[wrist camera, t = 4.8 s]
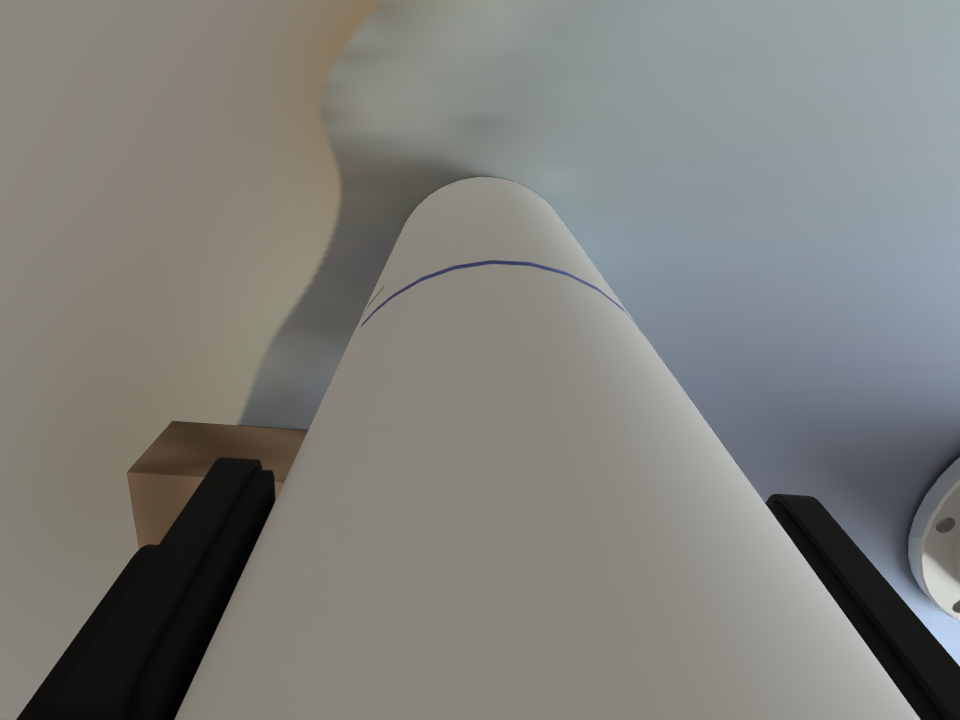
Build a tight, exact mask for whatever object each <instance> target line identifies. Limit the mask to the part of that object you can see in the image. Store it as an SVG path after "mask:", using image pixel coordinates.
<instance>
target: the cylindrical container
mask: <svg viewBox="0 0 960 720" xmlns="http://www.w3.org/2000/svg"><path fill="white" fill-rule="evenodd" d="M175 720H920V718H919V717H918V716H917V714H916V713H915V711H914V710H913V709H912V707H911V706H910V705H909V703H908V702H907V700H906V699H905V698H904V696H903V695H902V693H901V692H900V691H899V689H898V688H897V686H896V685H895V684H894V682H893V681H892V679H891V678H890V677H889V675H888V674H887V672H886V671H885V670H884V668H883V667H882V666H881V664H880V663H879V661H878V660H877V659H876V657H875V656H874V654H873V653H872V652H871V650H870V649H869V647H868V646H867V645H866V643H865V642H864V640H863V639H862V638H861V636H860V635H859V634H858V632H857V631H856V629H855V628H854V627H853V625H852V624H851V622H850V621H849V620H848V618H847V617H846V615H845V614H844V613H843V611H842V610H841V608H840V607H839V606H838V604H837V603H836V602H835V600H834V599H833V597H832V596H831V595H830V593H829V592H828V590H827V589H826V588H825V586H824V585H823V583H822V582H821V581H820V579H819V578H818V576H817V575H816V574H815V572H814V571H813V569H812V568H811V567H810V565H809V564H808V563H807V561H806V560H805V558H804V557H803V556H802V554H801V553H800V551H799V550H798V549H797V547H796V546H795V544H794V543H793V542H792V540H791V539H790V537H789V536H788V535H787V533H786V532H785V531H784V529H783V528H782V526H781V525H780V524H779V522H778V521H777V519H776V518H775V517H774V515H773V514H772V512H771V511H770V510H769V508H768V507H767V505H766V504H765V503H764V501H763V500H762V499H761V497H760V496H759V494H758V493H757V492H756V490H755V489H754V487H753V486H752V485H751V483H750V482H749V480H748V479H747V478H746V476H745V475H744V473H743V472H742V471H741V469H740V468H739V467H738V465H737V464H736V462H735V461H734V460H733V458H732V457H731V455H730V454H729V453H728V451H727V450H726V448H725V447H724V446H723V444H722V443H721V441H720V440H719V439H718V437H717V436H716V434H715V433H714V432H713V430H712V429H711V428H710V426H709V425H708V423H707V422H706V421H705V419H704V418H703V416H702V415H701V414H700V412H699V411H698V409H697V408H696V407H695V405H694V404H693V402H692V401H691V400H690V398H689V397H688V396H687V394H686V393H685V391H684V390H683V389H682V387H681V386H680V384H679V383H678V382H677V380H676V379H675V377H674V376H673V375H672V373H671V372H670V370H669V369H668V368H667V366H666V365H665V364H664V362H663V361H662V359H661V358H660V357H659V355H658V354H657V352H656V351H655V350H654V348H653V347H652V345H651V344H650V343H649V341H648V340H647V338H646V337H645V336H644V334H643V333H642V332H641V330H640V329H639V327H638V326H637V325H636V323H635V322H634V320H633V319H632V318H631V316H630V315H629V313H628V312H627V311H626V309H625V308H624V306H623V305H622V304H621V302H620V301H619V299H618V298H617V297H616V295H615V294H614V293H613V291H612V290H611V288H610V287H609V286H608V284H607V283H606V281H605V280H604V279H603V277H602V276H601V274H600V273H599V272H598V270H597V269H596V267H595V266H594V265H593V263H592V262H591V261H590V259H589V258H588V256H587V255H586V254H585V252H584V251H583V249H582V248H581V247H580V245H579V244H578V242H577V241H576V240H575V238H574V237H573V235H572V234H571V233H570V231H569V230H568V229H567V227H566V226H565V224H564V223H563V222H562V220H561V219H560V217H559V216H558V215H557V214H556V212H555V211H554V210H553V209H552V207H551V206H550V205H549V204H548V203H547V202H546V201H545V200H544V199H542V198H541V197H540V196H539V195H538V194H536V193H535V192H534V191H532V190H530V189H528V188H526V187H524V186H522V185H520V184H519V183H516V182H512V181H508V180H505V179H501V178H492V177H475V178H469V179H462V180H459V181H456V182H453V183H451V184H448V185H445V186H443V187H441V188H440V189H438V190H437V191H435V192H433V193H432V194H430V195H429V196H428V197H427V198H425V199H424V200H423V201H422V202H421V203H420V204H419V205H418V206H417V207H416V208H415V209H414V211H413V212H412V214H411V215H410V216H409V218H408V219H407V220H406V222H405V224H404V227H403V229H402V231H401V233H400V235H399V237H398V239H397V241H396V244H395V246H394V248H393V250H392V252H391V254H390V256H389V258H388V261H387V263H386V265H385V267H384V269H383V271H382V273H381V275H380V278H379V280H378V282H377V284H376V286H375V288H374V290H373V292H372V295H371V297H370V299H369V301H368V303H367V305H366V307H365V309H364V312H363V314H362V316H361V318H360V320H359V322H358V324H357V327H356V329H355V331H354V333H353V335H352V337H351V339H350V341H349V344H348V346H347V348H346V350H345V352H344V354H343V356H342V359H341V361H340V363H339V365H338V367H337V369H336V372H335V374H334V376H333V378H332V380H331V382H330V385H329V387H328V389H327V391H326V393H325V395H324V398H323V400H322V402H321V404H320V406H319V408H318V410H317V413H316V415H315V417H314V419H313V421H312V423H311V426H310V428H309V430H308V432H307V434H306V436H305V439H304V441H303V443H302V445H301V447H300V449H299V452H298V454H297V456H296V458H295V460H294V462H293V465H292V467H291V469H290V471H289V473H288V475H287V477H286V480H285V482H284V484H283V486H282V488H281V490H280V493H279V495H278V497H277V499H276V501H275V503H274V506H273V508H272V510H271V512H270V514H269V516H268V519H267V521H266V523H265V525H264V527H263V529H262V532H261V534H260V536H259V538H258V540H257V542H256V544H255V547H254V549H253V551H252V553H251V555H250V557H249V560H248V562H247V564H246V566H245V568H244V570H243V573H242V575H241V577H240V579H239V581H238V583H237V586H236V588H235V590H234V592H233V594H232V596H231V598H230V601H229V603H228V605H227V607H226V609H225V611H224V614H223V616H222V618H221V620H220V622H219V624H218V627H217V629H216V631H215V633H214V635H213V637H212V640H211V642H210V644H209V646H208V648H207V650H206V653H205V655H204V657H203V659H202V661H201V663H200V665H199V668H198V670H197V672H196V674H195V676H194V678H193V681H192V683H191V685H190V687H189V689H188V691H187V694H186V696H185V698H184V700H183V702H182V704H181V707H180V709H179V711H178V713H177V715H176V717H175Z"/></svg>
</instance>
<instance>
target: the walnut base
mask: <svg viewBox="0 0 960 720" xmlns="http://www.w3.org/2000/svg"><path fill="white" fill-rule="evenodd" d="M307 432H308V430H295V429H280V428H266V427H251V426H237V425H222V424H207V423H193V422H179V421H172V422H171V423H170V424H169V426H168V427H167V428H166V429H165V430H164V431H163V432H162V433H161V435H160V436H159V437H158V438H157V439H156V440H155V442H154V443H153V444H152V445H151V446H150V447H149V448H148V449H147V450H146V451H145V453H144V454H143V455H142V456H141V457H140V458H139V459H138V461H137V462H136V463H135V464H134V465H133V466H132V467H131V468H130V470H129V471H128V472H127V475H128V482H129V488H130V494H131V501H132V507H133V514H134V520H135V526H136V533H137V539H138V545H139V549H140V548H141V547H143V546H145V545H147V544H152V545H159V544H160V542H161V541H162V539H163V538H164V536H165V535H166V533H167V532H168V530H169V529H170V527H171V526H172V524H173V523H174V522H175V520H176V519H177V517H178V516H179V514H180V513H181V511H182V510H183V508H184V507H185V505H186V504H187V502H188V501H189V499H190V498H191V496H192V495H193V493H194V492H195V490H196V489H197V488H198V486H199V485H200V483H201V482H202V480H203V479H204V477H205V476H206V474H207V473H208V471H209V470H210V468H211V467H212V465H213V464H214V462H215V461H216V460H217V459H218V458H220V457H231V458H246V459H258V460H260V461H261V464H262V469H263V470H272V471H273V473H274V480H275V501H276V499H277V497H278V495H279V493H280V490H281V488H282V486H283V484H284V482H285V480H286V477H287V475H288V473H289V471H290V469H291V467H292V465H293V462H294V460H295V458H296V456H297V454H298V452H299V449H300V447H301V445H302V443H303V441H304V439H305V436H306V434H307Z"/></svg>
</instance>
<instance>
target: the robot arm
mask: <svg viewBox="0 0 960 720" xmlns="http://www.w3.org/2000/svg"><path fill="white" fill-rule="evenodd" d="M274 503H275V480H274V473H273V471H272V470H263V469H262V464H261V461H260V460H258V459H246V458H231V457H220V458H218V459H217V460H216V461H215V462H214V464H213V465H212V467H211V468H210V470H209V471H208V473H207V474H206V476H205V477H204V479H203V480H202V482H201V483H200V485H199V486H198V488H197V489H196V490H195V492H194V493H193V495H192V496H191V498H190V499H189V501H188V502H187V504H186V505H185V507H184V508H183V510H182V511H181V513H180V514H179V516H178V517H177V519H176V520H175V522H174V523H173V524H172V526H171V527H170V529H169V530H168V532H167V533H166V535H165V536H164V538H163V539H162V541H161V542H160V544H159V545H152V544H147V545H145V546H143V547H141V548H140V549H139V550H138V551H137V552H136V554H135V555H134V556H133V557H132V559H131V560H130V562H129V563H128V564H127V566H126V567H125V568H124V570H123V571H122V573H121V574H120V575H119V577H118V578H117V580H116V581H115V582H114V584H113V585H112V587H111V588H110V589H109V591H108V592H107V594H106V595H105V597H104V598H103V599H102V601H101V602H100V603H99V605H98V606H97V608H96V609H95V610H94V612H93V613H92V614H91V616H90V617H89V619H88V620H87V621H86V623H85V624H84V626H83V627H82V628H81V630H80V631H79V633H78V634H77V635H76V637H75V638H74V640H73V641H72V642H71V644H70V645H69V647H68V648H67V650H66V651H65V652H64V654H63V655H62V657H61V658H60V659H59V661H58V662H57V664H56V665H55V666H54V668H53V669H52V670H51V672H50V673H49V675H48V676H47V677H46V679H45V681H44V682H43V683H42V685H41V686H40V687H39V689H38V690H37V691H36V693H35V694H34V696H33V697H32V699H31V700H30V701H29V703H28V704H27V705H26V707H25V708H24V710H23V711H22V712H21V714H20V715H19V717H18V718H17V720H175V717H176V715H177V713H178V711H179V709H180V707H181V704H182V702H183V700H184V698H185V696H186V694H187V691H188V689H189V687H190V685H191V683H192V681H193V678H194V676H195V674H196V672H197V670H198V668H199V665H200V663H201V661H202V659H203V657H204V655H205V653H206V650H207V648H208V646H209V644H210V642H211V640H212V637H213V635H214V633H215V631H216V629H217V627H218V624H219V622H220V620H221V618H222V616H223V614H224V611H225V609H226V607H227V605H228V603H229V601H230V598H231V596H232V594H233V592H234V590H235V588H236V586H237V583H238V581H239V579H240V577H241V575H242V573H243V570H244V568H245V566H246V564H247V562H248V560H249V557H250V555H251V553H252V551H253V549H254V547H255V544H256V542H257V540H258V538H259V536H260V534H261V532H262V529H263V527H264V525H265V523H266V521H267V519H268V516H269V514H270V512H271V510H272V508H273V506H274ZM765 504H766V505H767V507H768V508H769V510H770V511H771V512H772V514H773V515H774V517H775V518H776V519H777V521H778V522H779V524H780V525H781V526H782V528H783V529H784V531H785V532H786V533H787V535H788V536H789V537H790V539H791V540H792V542H793V543H794V544H795V546H796V547H797V549H798V550H799V551H800V553H801V554H802V556H803V557H804V558H805V560H806V561H807V563H808V564H809V565H810V567H811V568H812V569H813V571H814V572H815V574H816V575H817V576H818V578H819V579H820V581H821V582H822V583H823V585H824V586H825V588H826V589H827V590H828V592H829V593H830V595H831V596H832V597H833V599H834V600H835V602H836V603H837V604H838V606H839V607H840V608H841V610H842V611H843V613H844V614H845V615H846V617H847V618H848V620H849V621H850V622H851V624H852V625H853V627H854V628H855V629H856V631H857V632H858V634H859V635H860V636H861V638H862V639H863V640H864V642H865V643H866V645H867V646H868V647H869V649H870V650H871V652H872V653H873V654H874V656H875V657H876V659H877V660H878V661H879V663H880V664H881V666H882V667H883V668H884V670H885V671H886V672H887V674H888V675H889V677H890V678H891V679H892V681H893V682H894V684H895V685H896V686H897V688H898V689H899V691H900V692H901V693H902V695H903V696H904V698H905V699H906V700H907V702H908V703H909V705H910V706H911V707H912V709H913V710H914V711H915V713H916V714H917V716H918V717H919V718H920V720H960V666H959V665H958V664H957V663H956V662H955V661H954V659H953V658H952V657H951V656H950V655H949V654H948V652H947V651H946V650H945V649H944V648H943V647H942V645H941V644H940V643H939V642H938V641H937V639H936V638H935V637H934V636H933V635H932V634H931V632H930V631H929V630H928V629H927V628H926V627H925V625H924V624H923V623H922V622H921V621H920V620H919V618H918V617H917V616H916V615H915V614H914V612H913V611H912V610H911V609H910V608H909V607H908V605H907V604H906V603H905V602H904V601H903V600H902V598H901V597H900V596H899V595H898V594H897V592H896V591H895V590H894V589H893V588H892V587H891V585H890V584H889V583H888V582H887V581H886V580H885V578H884V577H883V576H882V575H881V574H880V573H879V571H878V570H877V569H876V568H875V567H874V565H873V564H872V563H871V562H870V561H869V560H868V558H867V557H866V556H865V555H864V554H863V553H862V551H861V550H860V549H859V548H858V547H857V546H856V544H855V543H854V542H853V541H852V540H851V538H850V537H849V536H848V535H847V534H846V533H845V531H844V530H843V529H842V528H841V527H840V526H839V524H838V523H837V522H836V521H835V520H834V518H833V517H832V516H831V515H830V514H829V513H828V511H827V510H826V509H825V508H824V507H823V506H822V504H821V503H820V502H819V501H818V500H817V499H815V498H814V497H811V496H800V495H786V494H774V495H771V496H770V498H769V499H768V500H767V502H766V503H765ZM908 558H909V562H910V567H911V571H912V574H913V576H914V578H915V579H916V581H917V583H918V585H919V587H920V588H921V589H922V590H923V591H924V592H925V594H926V595H927V596H928V597H929V598H930V599H931V600H932V601H933V603H934V604H935V605H936V606H937V607H938V608H940V609H941V610H942V611H943V612H944V613H946V614H947V615H948V616H950V617H952V618H954V619H956V620H959V621H960V457H959V458H958V459H957V460H956V461H955V462H954V463H953V464H952V465H951V466H950V467H949V468H948V469H947V470H946V471H945V472H944V473H942V474H941V475H940V477H939V478H938V479H937V481H936V482H935V483H934V485H933V486H932V487H931V489H930V490H929V491H928V493H927V494H926V495H925V497H924V499H923V501H922V503H921V505H920V507H919V509H918V511H917V513H916V515H915V517H914V520H913V524H912V527H911V531H910V535H909V544H908Z"/></svg>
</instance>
